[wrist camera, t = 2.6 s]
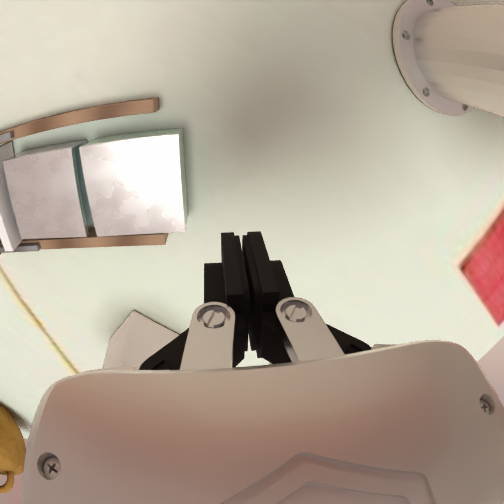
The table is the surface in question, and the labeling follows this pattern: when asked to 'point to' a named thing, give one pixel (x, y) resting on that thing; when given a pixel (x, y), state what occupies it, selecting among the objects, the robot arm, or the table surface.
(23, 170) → the white square block
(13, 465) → the vase
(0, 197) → the pusher
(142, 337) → the milk carton
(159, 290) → the table surface
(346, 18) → the table surface
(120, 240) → the lane
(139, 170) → the tin
